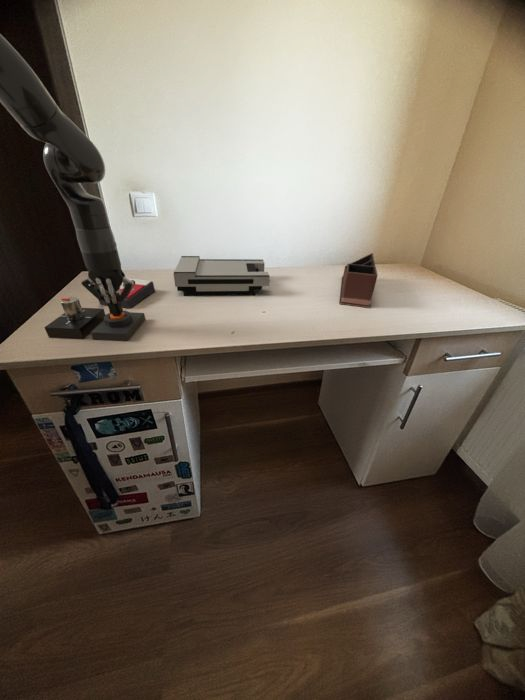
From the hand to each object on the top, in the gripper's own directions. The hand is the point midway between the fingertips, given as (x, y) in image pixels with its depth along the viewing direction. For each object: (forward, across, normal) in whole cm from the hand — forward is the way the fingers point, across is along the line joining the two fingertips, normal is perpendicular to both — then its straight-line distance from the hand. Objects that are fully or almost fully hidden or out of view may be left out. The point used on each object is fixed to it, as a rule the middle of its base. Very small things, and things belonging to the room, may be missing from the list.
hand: (117, 314), depth 75 cm
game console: (+5, +23, +36) cm, 43 cm away
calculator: (+4, -7, +21) cm, 22 cm away
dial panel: (+4, -12, 0) cm, 12 cm away
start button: (+2, 0, 0) cm, 2 cm away
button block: (+4, 0, 0) cm, 4 cm away
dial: (+1, -12, 0) cm, 12 cm away
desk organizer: (+5, +73, +36) cm, 82 cm away
